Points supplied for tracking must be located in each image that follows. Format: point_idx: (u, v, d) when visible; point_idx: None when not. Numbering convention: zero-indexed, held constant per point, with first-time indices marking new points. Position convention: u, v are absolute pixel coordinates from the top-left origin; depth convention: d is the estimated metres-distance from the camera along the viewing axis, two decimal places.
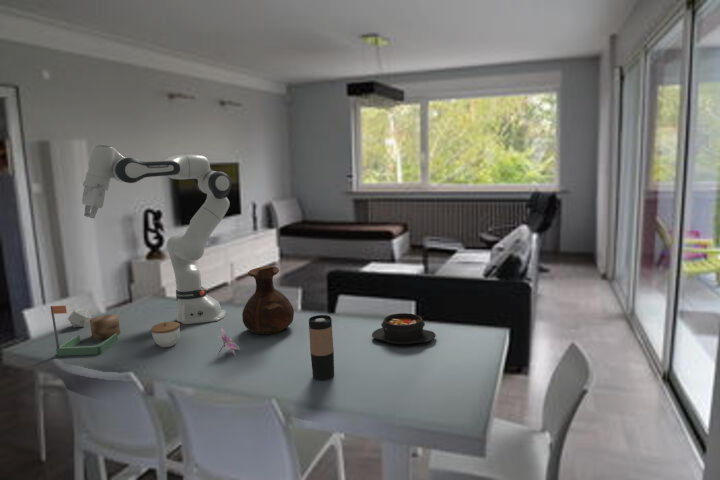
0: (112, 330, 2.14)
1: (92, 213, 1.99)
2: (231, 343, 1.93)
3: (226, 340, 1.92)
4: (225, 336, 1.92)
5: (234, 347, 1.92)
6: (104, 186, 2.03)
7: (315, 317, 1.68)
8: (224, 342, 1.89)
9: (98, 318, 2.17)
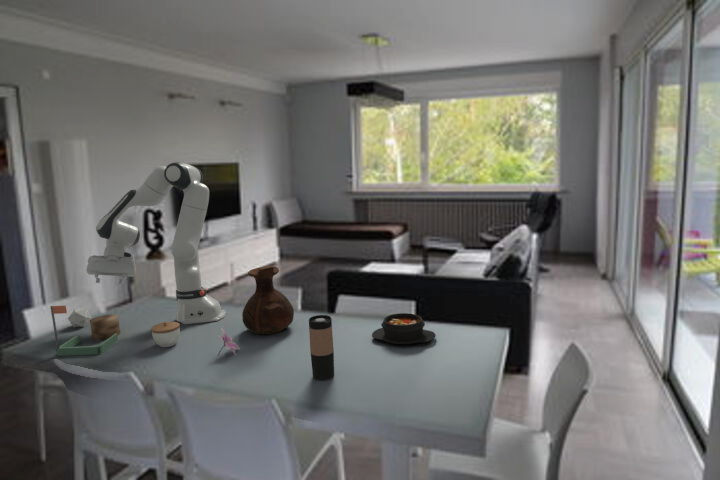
0: (112, 330, 2.14)
1: (96, 279, 2.26)
2: (231, 343, 1.93)
3: (226, 340, 1.92)
4: (225, 336, 1.92)
5: (234, 347, 1.92)
6: (104, 254, 2.31)
7: (315, 317, 1.68)
8: (224, 342, 1.89)
9: (98, 318, 2.17)
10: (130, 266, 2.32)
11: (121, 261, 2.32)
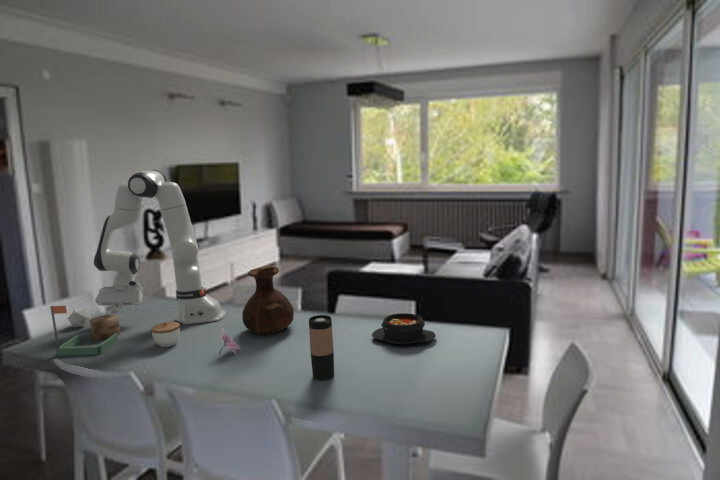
0: (112, 330, 2.14)
1: None
2: (232, 343, 1.93)
3: (227, 340, 1.92)
4: (226, 336, 1.92)
5: (235, 347, 1.92)
6: None
7: (315, 317, 1.68)
8: (225, 342, 1.89)
9: (98, 318, 2.17)
10: (135, 295, 2.30)
11: (127, 290, 2.31)
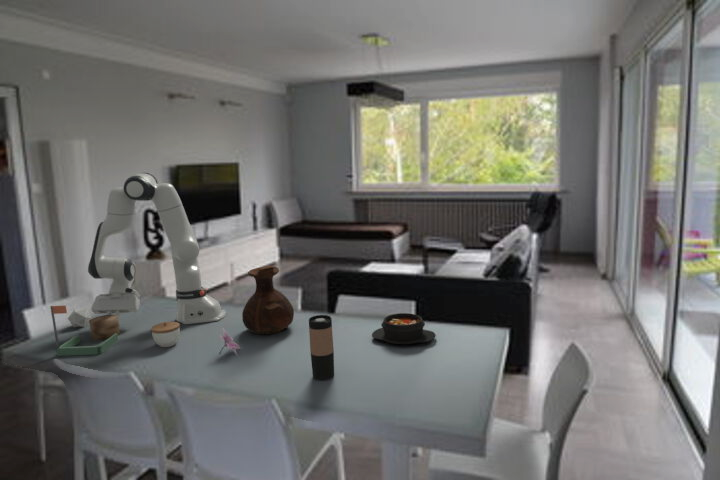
0: (112, 330, 2.14)
1: None
2: (232, 343, 1.93)
3: (227, 340, 1.92)
4: (226, 336, 1.92)
5: (235, 347, 1.92)
6: None
7: (315, 317, 1.68)
8: (225, 342, 1.89)
9: (97, 318, 2.17)
10: (131, 302, 2.26)
11: (123, 297, 2.27)
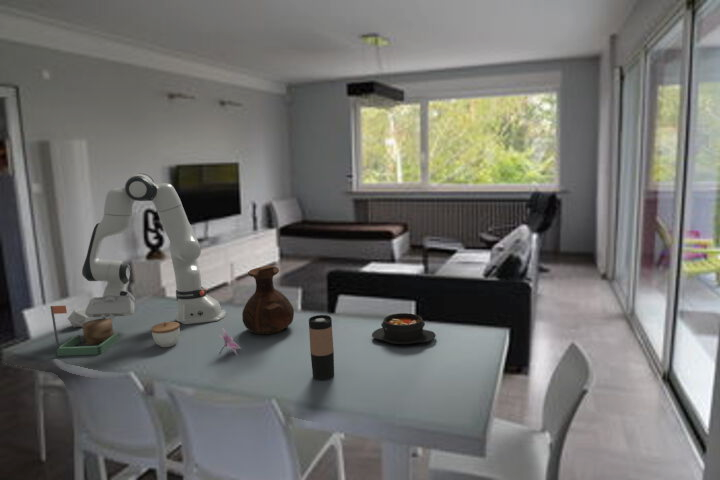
0: (105, 334, 2.09)
1: None
2: (232, 343, 1.93)
3: (227, 340, 1.92)
4: (226, 336, 1.92)
5: (235, 347, 1.92)
6: None
7: (315, 317, 1.68)
8: (225, 342, 1.89)
9: (91, 322, 2.12)
10: (126, 305, 2.21)
11: (118, 301, 2.22)
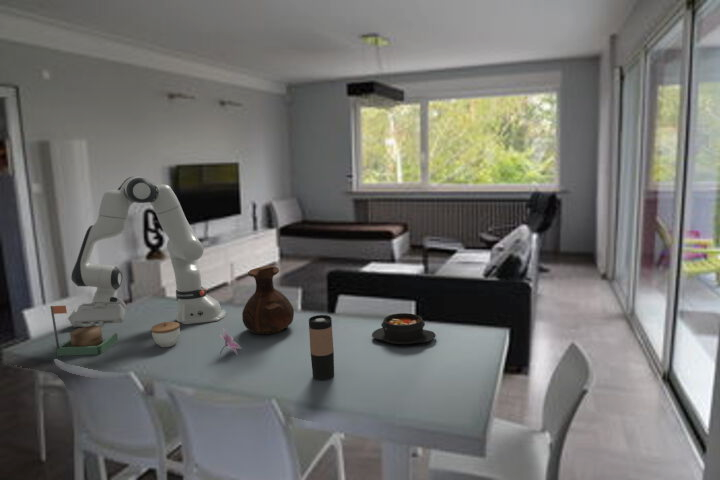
0: (94, 342, 2.00)
1: None
2: (233, 342, 1.93)
3: (228, 340, 1.93)
4: (227, 336, 1.92)
5: (236, 346, 1.93)
6: (92, 301, 2.15)
7: (315, 317, 1.68)
8: (226, 341, 1.89)
9: (79, 330, 2.03)
10: (116, 312, 2.12)
11: (108, 307, 2.13)
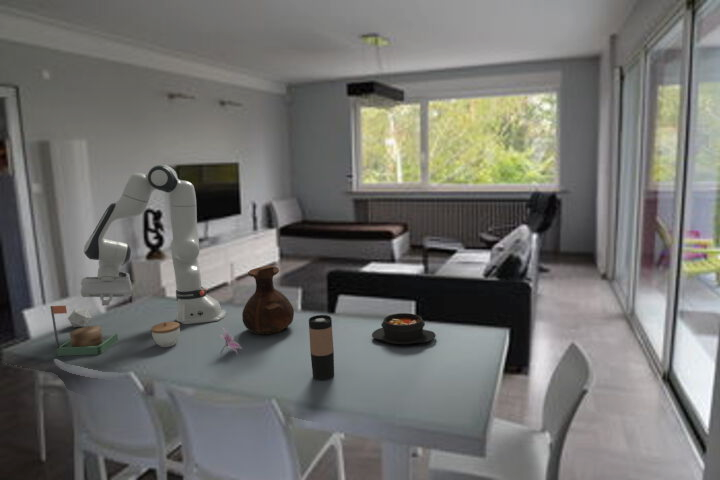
0: (94, 343, 2.00)
1: None
2: (233, 342, 1.94)
3: (228, 339, 1.93)
4: (227, 335, 1.92)
5: (236, 346, 1.93)
6: (98, 275, 2.22)
7: (315, 317, 1.68)
8: (226, 341, 1.90)
9: (79, 330, 2.03)
10: (127, 286, 2.24)
11: (116, 281, 2.23)
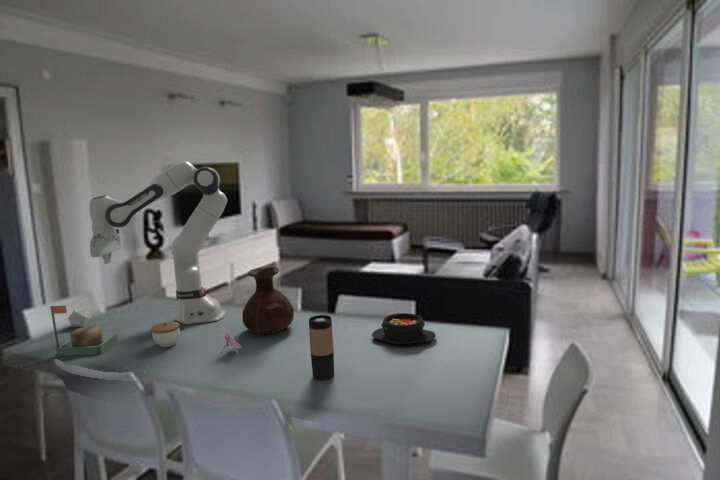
0: (94, 343, 2.00)
1: (104, 259, 2.24)
2: (233, 342, 1.94)
3: (228, 339, 1.93)
4: (227, 335, 1.93)
5: (237, 346, 1.93)
6: (104, 234, 2.20)
7: (315, 317, 1.68)
8: (227, 341, 1.90)
9: (79, 330, 2.03)
10: (118, 242, 2.32)
11: (113, 238, 2.27)
